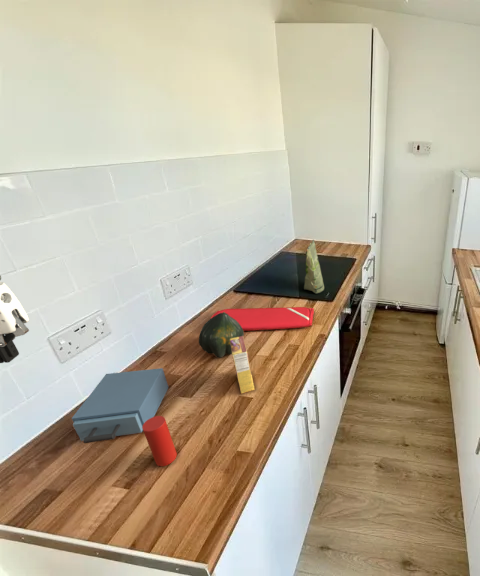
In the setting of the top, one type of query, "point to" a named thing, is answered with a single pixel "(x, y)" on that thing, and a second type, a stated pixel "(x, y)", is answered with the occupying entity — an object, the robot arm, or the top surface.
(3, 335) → the robot arm
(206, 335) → the squash
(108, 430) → the drawer
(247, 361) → the candy box
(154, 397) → the cabinet
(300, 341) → the top surface
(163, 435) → the tin
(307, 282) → the pale green cone
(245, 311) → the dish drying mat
